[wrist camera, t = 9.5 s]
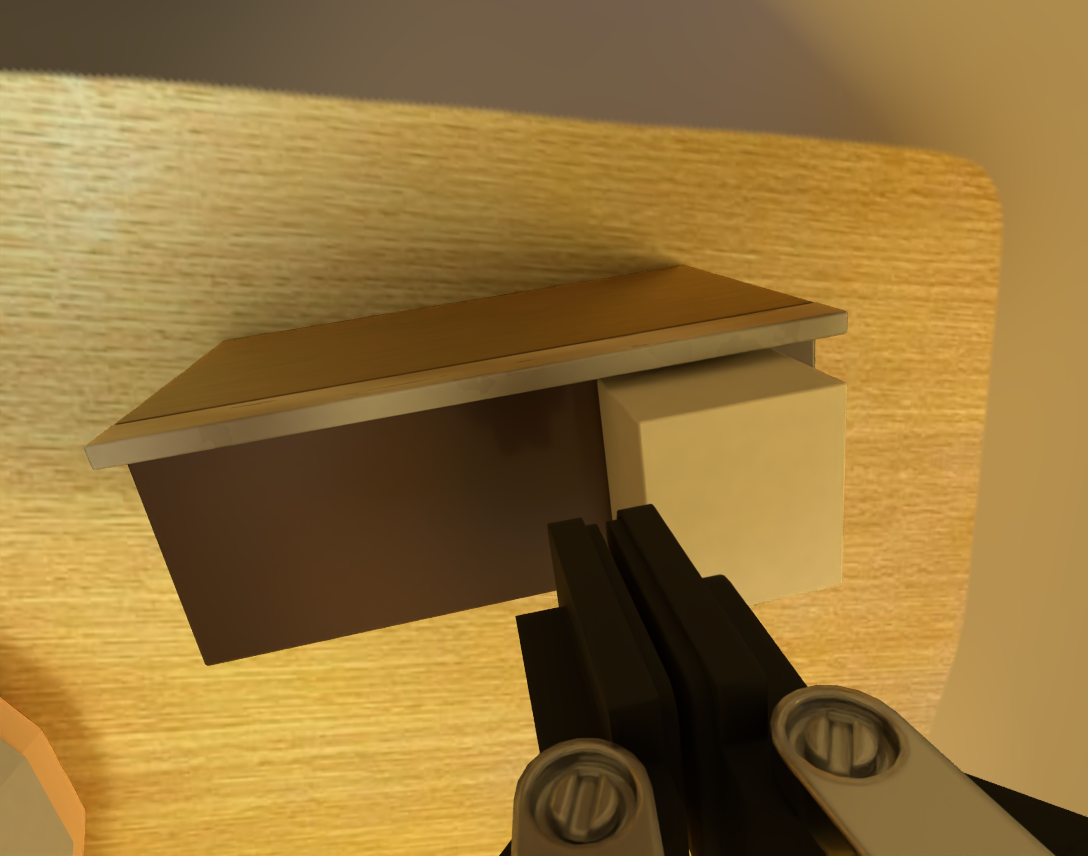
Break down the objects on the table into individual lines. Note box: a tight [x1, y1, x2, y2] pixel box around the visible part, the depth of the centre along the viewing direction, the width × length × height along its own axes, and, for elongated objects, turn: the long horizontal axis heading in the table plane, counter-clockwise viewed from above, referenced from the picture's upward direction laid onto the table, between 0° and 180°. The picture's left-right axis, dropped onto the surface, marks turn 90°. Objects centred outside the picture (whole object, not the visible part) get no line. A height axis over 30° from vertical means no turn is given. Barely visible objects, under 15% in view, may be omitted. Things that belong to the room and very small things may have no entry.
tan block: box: [597, 348, 847, 606], centre depth 14 cm, size 4×4×3 cm
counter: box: [84, 265, 848, 666], centre depth 18 cm, size 15×6×9 cm, turn 98°
